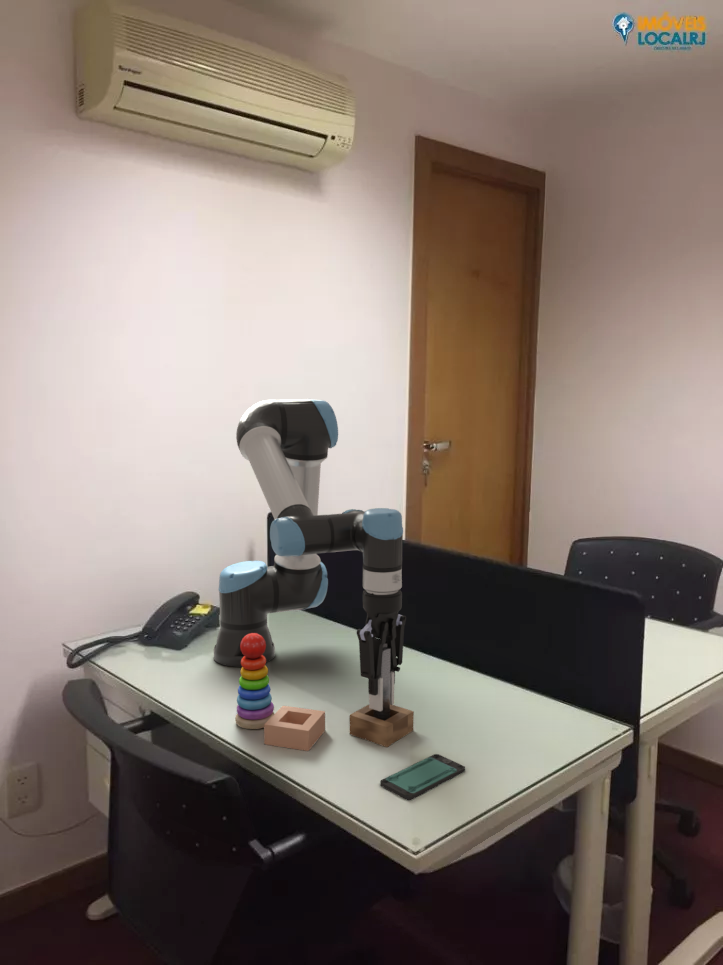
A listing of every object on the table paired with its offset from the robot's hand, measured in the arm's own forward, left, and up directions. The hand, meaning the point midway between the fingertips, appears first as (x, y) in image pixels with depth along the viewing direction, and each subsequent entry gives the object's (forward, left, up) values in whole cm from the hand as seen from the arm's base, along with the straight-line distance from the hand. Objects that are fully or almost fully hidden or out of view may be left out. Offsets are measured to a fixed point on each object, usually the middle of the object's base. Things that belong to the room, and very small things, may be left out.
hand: (381, 705), depth 155 cm
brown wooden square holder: (0, 0, -6) cm, 6 cm away
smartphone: (+16, -10, -6) cm, 20 cm away
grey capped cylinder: (0, 0, -4) cm, 4 cm away
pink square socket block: (-12, -12, -6) cm, 18 cm away
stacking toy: (-23, -12, -6) cm, 27 cm away
